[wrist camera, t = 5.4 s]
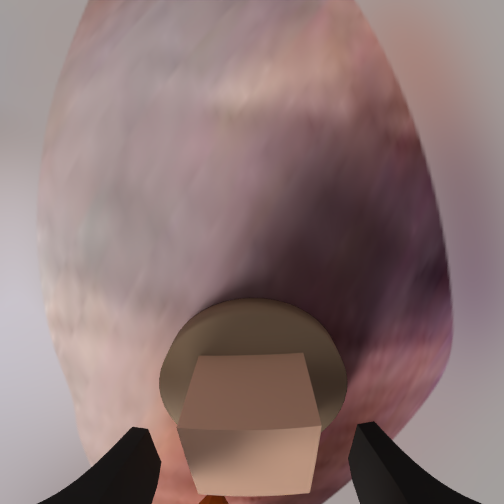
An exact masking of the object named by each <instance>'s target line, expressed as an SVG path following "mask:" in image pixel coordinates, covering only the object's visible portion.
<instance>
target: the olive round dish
mask: <svg viewBox="0 0 504 504" xmlns="http://www.w3.org/2000/svg"><path fill="white" fill-rule="evenodd" d="M291 353H303V354H304V357H305V361H306V365H307V369H308V373H309V377H310V381H311V385H312V389H313V392H314V396H315V400H316V404H317V408H318V412H319V417H320V421H321V425H322V427H321V432H322V431H323V430H324V429H325V428H326V427H327V426H328V425H330V423H331V422H332V421H333V420H334V419H335V417H336V416H337V414H338V413H339V411H340V409H341V407H342V405H343V403H344V400H345V396H346V392H347V374H346V370H345V367H344V364H343V361H342V359H341V357H340V355H339V353H338V351H337V349H336V346H335V344H334V342H333V340H332V338H331V336H330V335H329V333H328V332H327V330H326V329H325V328H324V327H323V325H322V324H321V323H320V322H319V321H318V320H316V319H315V318H314V317H313V316H311V315H310V314H309V313H307V312H305V311H303V310H302V309H300V308H298V307H295V306H293V305H290V304H288V303H285V302H281V301H277V300H272V299H265V298H242V299H234V300H230V301H225V302H222V303H219V304H216V305H213V306H211V307H209V308H207V309H205V310H203V311H201V312H200V313H198V314H197V315H195V316H194V317H193V318H191V319H190V320H189V321H188V322H187V323H186V324H185V325H184V326H183V327H182V329H181V330H180V331H179V332H178V334H177V336H176V338H175V339H174V341H173V343H172V345H171V347H170V349H169V351H168V354H167V356H166V358H165V360H164V362H163V365H162V368H161V372H160V378H159V388H160V394H161V398H162V401H163V403H164V406H165V408H166V410H167V412H168V413H169V415H170V416H171V418H172V419H173V420H174V421H175V423H176V424H177V425H178V421H179V418H180V415H181V411H182V408H183V405H184V402H185V398H186V395H187V392H188V389H189V385H190V382H191V379H192V376H193V372H194V369H195V366H196V363H197V360H198V356H238V355H271V354H291Z"/></svg>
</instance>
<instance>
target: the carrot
mask: <svg viewBox="0 0 504 504" xmlns="http://www.w3.org/2000/svg"><path fill="white" fill-rule="evenodd" d="M199 504H228V502H227V500H226V499H225V497H224V496H218V495H207V496H206V497H205V498H204V499H203V500H202V501H201V502H200V503H199Z"/></svg>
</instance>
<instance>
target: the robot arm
mask: <svg viewBox="0 0 504 504" xmlns="http://www.w3.org/2000/svg"><path fill="white" fill-rule="evenodd" d="M348 460H349V465H350V471H351V476H352V481H353V484H354V487H355V490H356V493H357V496H358V499H359V502H360V504H481V503H479V502H476V501H474V500H472V499H470V498H468V497H465V496H463V495H461V494H460V493H458V492H456V491H454V490H452V489H450V488H449V487H447V486H446V485H444V484H443V483H441V482H440V481H438V480H437V479H435V478H434V477H432V476H431V475H430V474H428V473H427V472H426V471H425V470H424V469H422V468H421V467H420V466H419V465H418V464H416V463H415V462H414V461H413V460H412V459H411V458H410V457H409V456H408V455H407V454H405V453H404V452H403V451H402V450H401V449H400V448H399V447H398V446H397V445H396V444H395V443H394V442H393V441H392V440H391V439H390V438H389V437H388V436H387V435H386V433H385V432H384V431H383V430H382V429H381V428H380V427H379V426H378V425H377V424H376V423H375V422H374V421H373V422H368V423H362V424H357V428H356V432H355V436H354V439H353V443H352V447H351V450H350V454H349V457H348ZM160 467H161V460H160V458H159V455H158V453H157V451H156V448H155V446H154V443H153V441H152V438H151V435H150V433H149V430H148V429H144V428H137V427H132V428H131V429H130V430H129V431H128V432H127V433H126V434H125V435H124V436H123V437H122V438H121V439H120V440H119V441H118V442H117V443H116V444H115V445H114V446H113V447H112V448H111V449H110V450H109V451H108V452H107V453H106V454H105V455H104V456H103V457H102V458H101V459H100V460H99V461H98V462H97V463H96V464H95V465H94V466H93V467H91V468H90V469H89V470H88V471H87V472H85V473H84V474H83V475H82V476H81V477H80V478H78V479H77V480H76V481H74V482H73V483H72V484H70V485H69V486H67V487H66V488H65V489H63V490H61V491H60V492H58V493H57V494H55V495H53V496H51V497H50V498H48V499H46V500H44V501H42V502H40V503H38V504H152V501H153V497H154V494H155V491H156V488H157V484H158V479H159V473H160Z"/></svg>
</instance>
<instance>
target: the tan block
mask: <svg viewBox="0 0 504 504" xmlns="http://www.w3.org/2000/svg"><path fill="white" fill-rule="evenodd" d="M321 427H322V425H321V421H320V417H319V412H318V408H317V404H316V400H315V396H314V392H313V389H312V385H311V381H310V377H309V373H308V369H307V365H306V361H305V357H304V354H303V353H291V354H271V355H238V356H198V360H197V363H196V366H195V369H194V372H193V376H192V379H191V382H190V385H189V389H188V392H187V395H186V398H185V402H184V405H183V408H182V411H181V415H180V418H179V421H178V425H177V430H178V434H179V437H180V441H181V444H182V447H183V450H184V453H185V457H186V460H187V463H188V466H189V469H190V472H191V474H192V477H193V480H194V483H195V486H196V488H197V491H198V494H203V495H218V496H277V495H293V494H304V493H310V488H311V484H312V479H313V473H314V468H315V463H316V457H317V452H318V446H319V440H320V434H321Z"/></svg>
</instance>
